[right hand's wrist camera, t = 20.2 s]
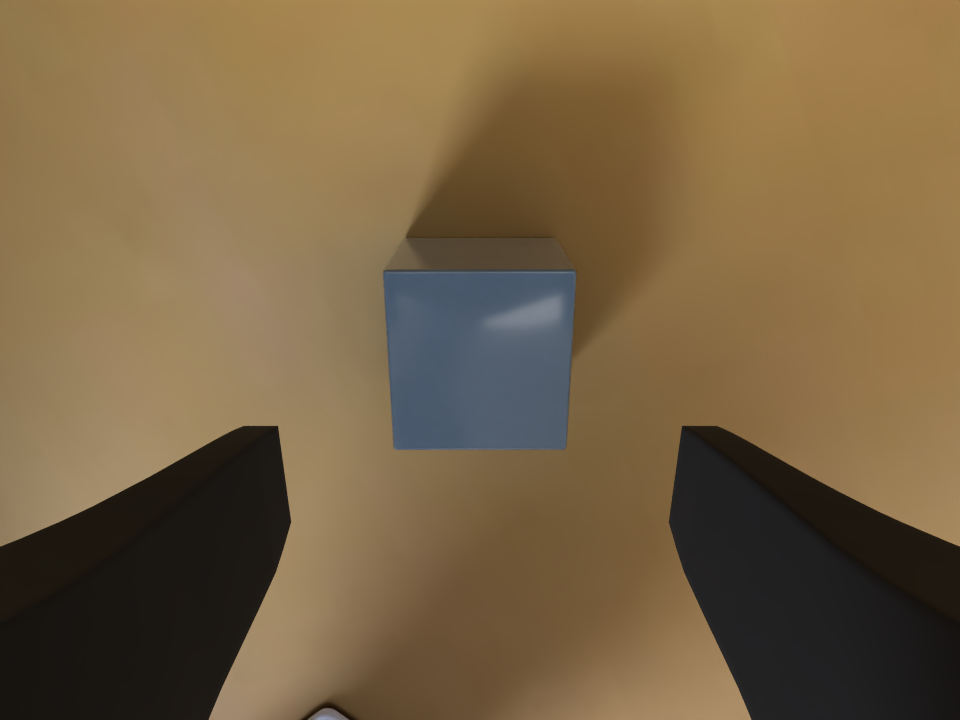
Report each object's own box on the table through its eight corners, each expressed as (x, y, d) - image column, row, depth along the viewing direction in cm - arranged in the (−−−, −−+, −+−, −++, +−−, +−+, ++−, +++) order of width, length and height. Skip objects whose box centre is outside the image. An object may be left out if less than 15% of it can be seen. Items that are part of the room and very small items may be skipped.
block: (550, 386, 21) (566, 450, 17) (410, 386, 21) (393, 450, 17) (556, 237, 19) (577, 269, 15) (403, 237, 19) (382, 270, 15)
